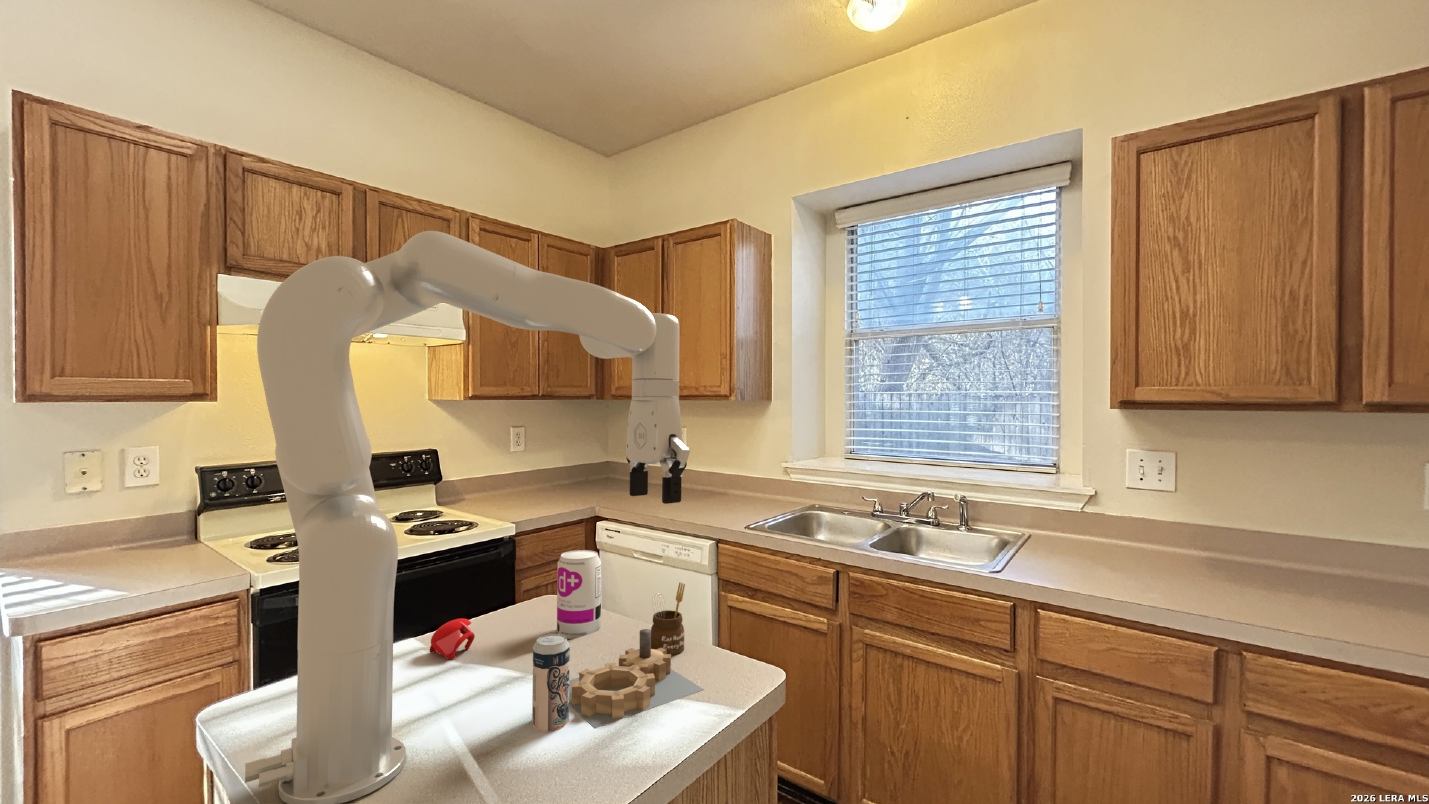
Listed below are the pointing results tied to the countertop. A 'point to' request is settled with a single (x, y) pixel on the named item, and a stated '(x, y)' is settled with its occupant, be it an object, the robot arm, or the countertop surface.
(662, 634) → the utensil holder
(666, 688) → the gear board
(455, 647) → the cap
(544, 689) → the beer can
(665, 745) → the countertop surface
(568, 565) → the supplement can
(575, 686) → the oak gear
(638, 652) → the small gear
